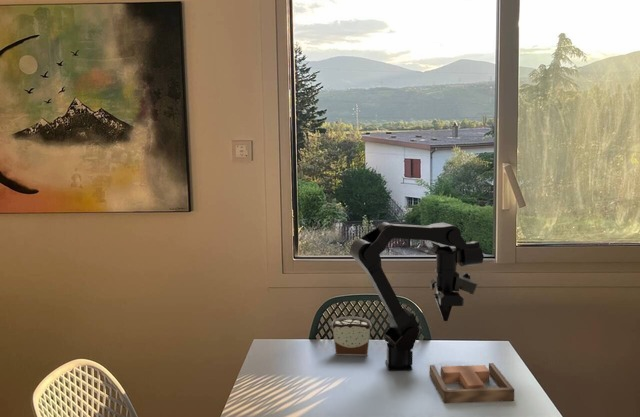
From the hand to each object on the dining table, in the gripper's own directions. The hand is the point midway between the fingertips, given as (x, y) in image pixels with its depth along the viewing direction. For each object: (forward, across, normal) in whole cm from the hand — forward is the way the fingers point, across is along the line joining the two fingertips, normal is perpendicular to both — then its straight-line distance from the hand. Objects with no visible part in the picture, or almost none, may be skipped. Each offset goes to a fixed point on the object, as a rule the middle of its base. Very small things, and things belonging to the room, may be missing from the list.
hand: (445, 320), depth 176 cm
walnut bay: (+12, -19, -3) cm, 22 cm away
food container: (+12, +7, +27) cm, 30 cm away
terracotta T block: (+12, -18, -3) cm, 21 cm away
